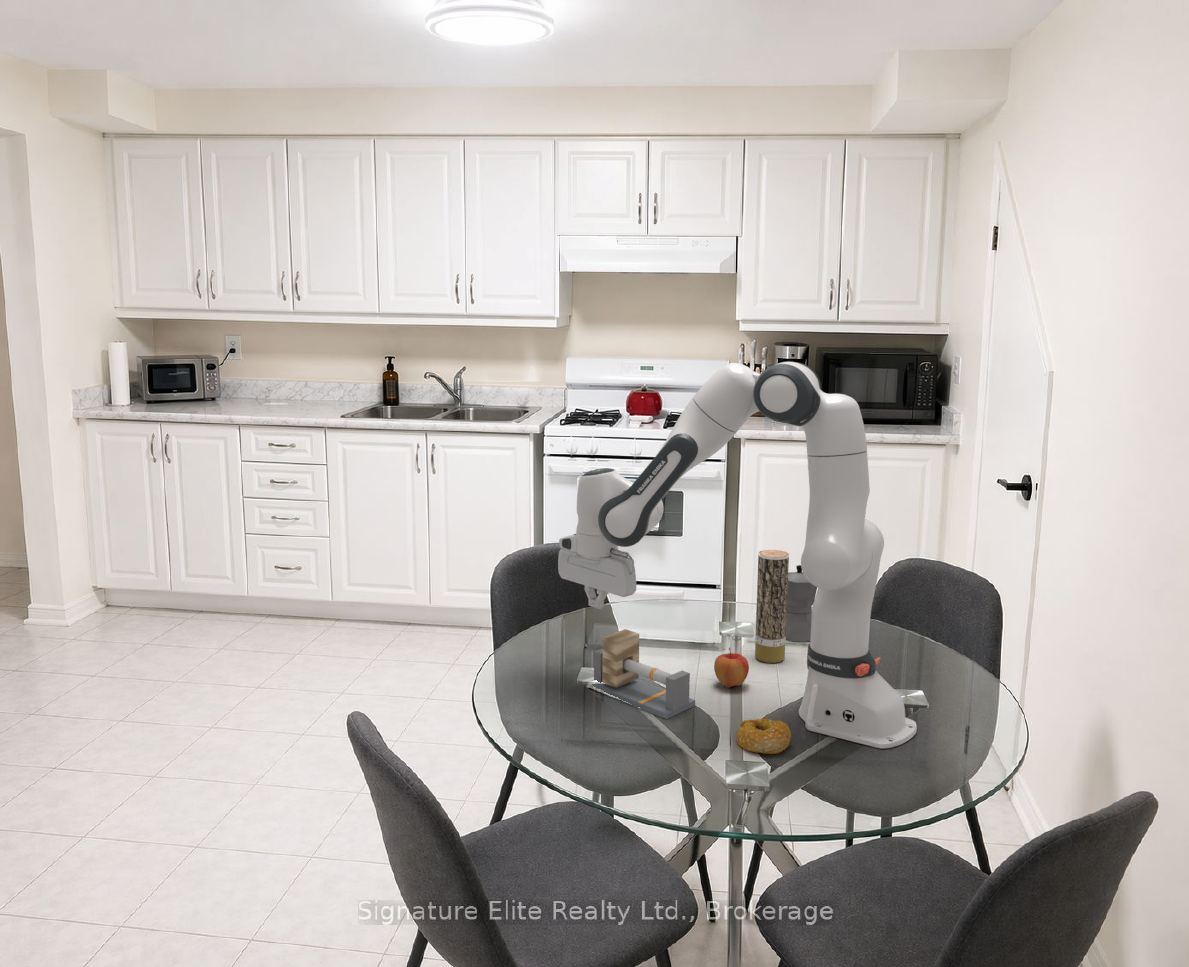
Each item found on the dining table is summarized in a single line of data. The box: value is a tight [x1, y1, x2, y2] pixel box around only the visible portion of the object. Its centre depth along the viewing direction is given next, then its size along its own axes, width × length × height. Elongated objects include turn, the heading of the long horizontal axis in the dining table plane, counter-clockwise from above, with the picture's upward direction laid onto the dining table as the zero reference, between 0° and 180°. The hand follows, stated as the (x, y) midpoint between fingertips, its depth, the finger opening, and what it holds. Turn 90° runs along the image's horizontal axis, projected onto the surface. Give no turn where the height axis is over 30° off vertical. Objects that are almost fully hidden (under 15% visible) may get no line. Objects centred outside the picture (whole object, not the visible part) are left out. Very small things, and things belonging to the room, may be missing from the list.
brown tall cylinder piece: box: [754, 549, 790, 664], centre depth 217 cm, size 7×7×25 cm
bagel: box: [736, 718, 792, 755], centre depth 177 cm, size 10×11×5 cm
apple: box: [713, 647, 750, 689], centre depth 203 cm, size 7×7×8 cm
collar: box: [602, 628, 640, 688], centre depth 200 cm, size 4×7×10 cm, turn 136°
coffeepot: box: [786, 564, 818, 643], centre depth 232 cm, size 15×9×18 cm, turn 70°
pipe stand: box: [592, 648, 696, 720], centre depth 197 cm, size 22×9×8 cm, turn 46°
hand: (596, 606), depth 204 cm, fingers closed
